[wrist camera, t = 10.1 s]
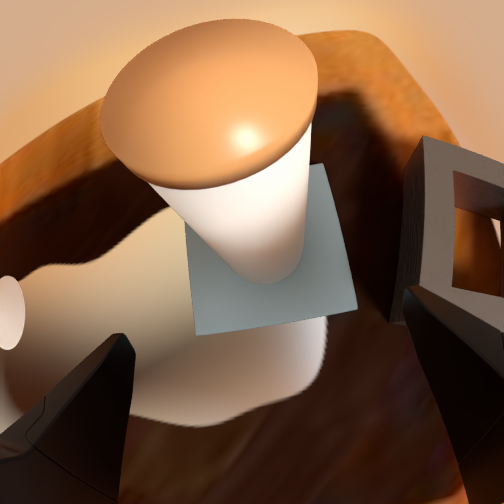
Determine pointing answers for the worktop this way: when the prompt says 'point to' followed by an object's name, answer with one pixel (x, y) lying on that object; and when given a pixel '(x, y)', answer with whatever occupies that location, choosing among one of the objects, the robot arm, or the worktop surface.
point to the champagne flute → (11, 312)
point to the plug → (223, 136)
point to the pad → (284, 291)
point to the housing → (446, 224)
